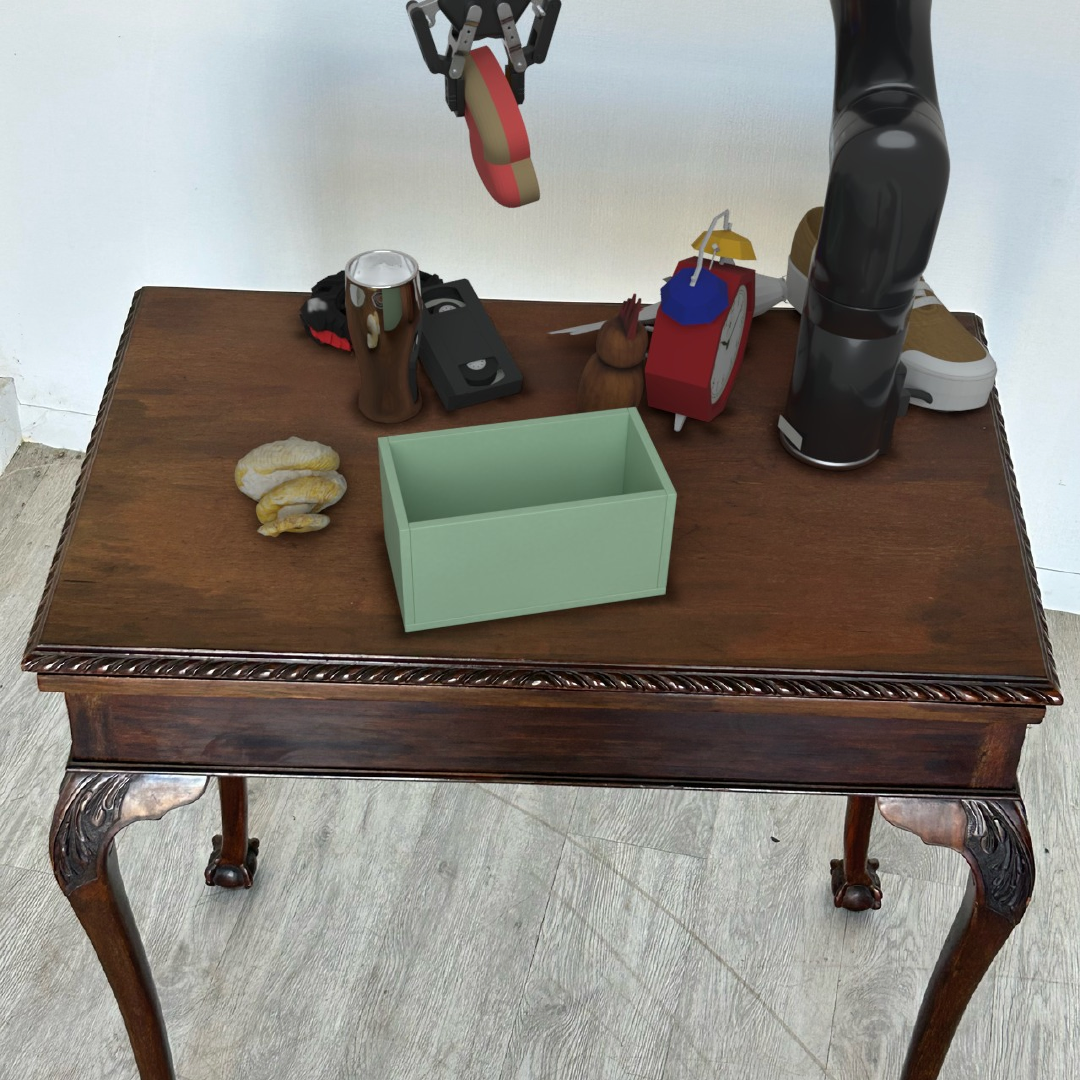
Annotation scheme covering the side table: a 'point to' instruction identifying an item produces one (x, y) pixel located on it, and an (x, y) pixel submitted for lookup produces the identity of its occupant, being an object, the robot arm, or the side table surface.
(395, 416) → the beer glass
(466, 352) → the vhs tape
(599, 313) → the side table surface
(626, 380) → the wooden figurine
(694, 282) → the alarm clock
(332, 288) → the toy
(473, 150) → the decorative object
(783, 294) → the fish
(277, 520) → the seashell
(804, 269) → the sneaker
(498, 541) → the bin
